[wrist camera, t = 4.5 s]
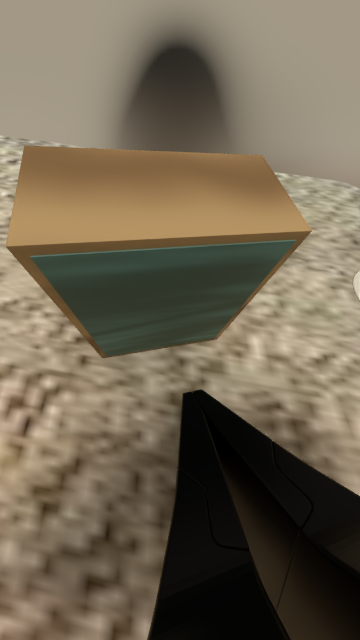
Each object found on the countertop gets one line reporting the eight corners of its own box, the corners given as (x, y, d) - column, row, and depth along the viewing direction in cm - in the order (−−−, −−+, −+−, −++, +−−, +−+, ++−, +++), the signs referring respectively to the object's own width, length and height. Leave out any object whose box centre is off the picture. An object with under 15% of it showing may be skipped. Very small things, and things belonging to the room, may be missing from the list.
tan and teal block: (216, 339, 18) (312, 231, 7) (102, 358, 16) (5, 247, 5) (202, 293, 20) (262, 155, 9) (99, 305, 18) (24, 145, 7)
